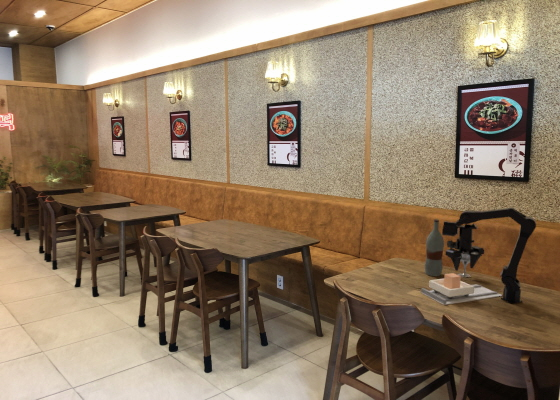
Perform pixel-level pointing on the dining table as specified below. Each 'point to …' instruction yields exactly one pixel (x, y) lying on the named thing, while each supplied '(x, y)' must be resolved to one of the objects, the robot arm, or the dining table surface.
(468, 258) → the wine glass
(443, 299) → the track
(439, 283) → the cream rimmed tray
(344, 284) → the dining table surface
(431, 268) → the bottle
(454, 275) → the block
